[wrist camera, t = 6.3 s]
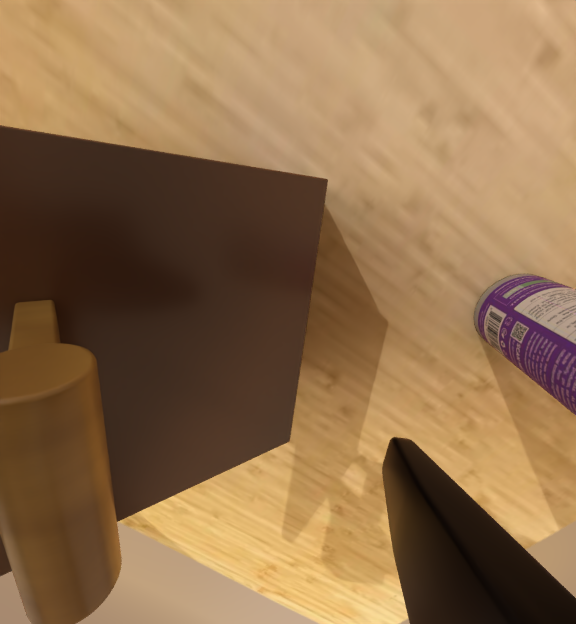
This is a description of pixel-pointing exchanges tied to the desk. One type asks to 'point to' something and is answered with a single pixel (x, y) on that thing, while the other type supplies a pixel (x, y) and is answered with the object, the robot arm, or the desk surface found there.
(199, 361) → the box door
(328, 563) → the desk surface
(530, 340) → the container
